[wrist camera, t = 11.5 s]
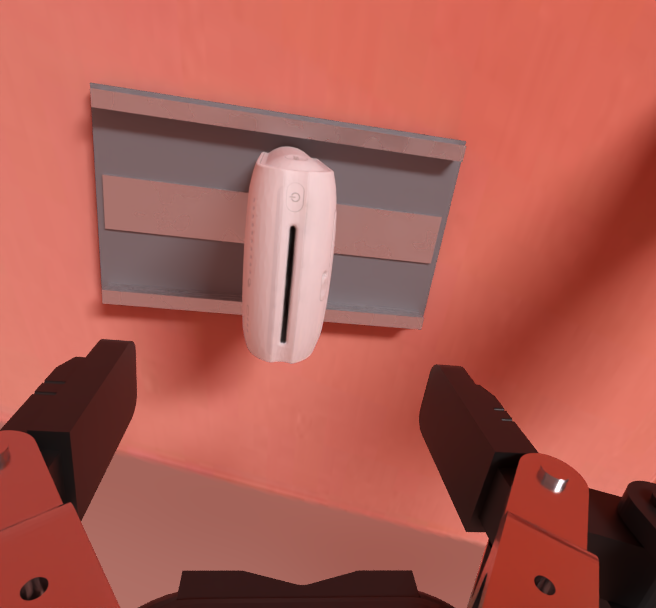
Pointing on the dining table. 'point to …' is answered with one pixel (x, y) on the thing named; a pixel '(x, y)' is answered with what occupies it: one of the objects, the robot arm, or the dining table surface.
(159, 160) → the mounting board
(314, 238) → the photo printer
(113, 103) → the striped rectangular tray
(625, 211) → the dining table surface
